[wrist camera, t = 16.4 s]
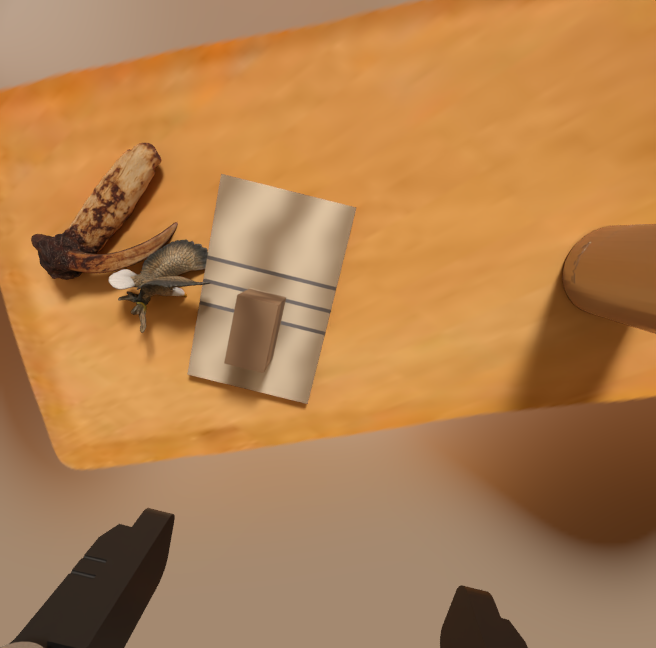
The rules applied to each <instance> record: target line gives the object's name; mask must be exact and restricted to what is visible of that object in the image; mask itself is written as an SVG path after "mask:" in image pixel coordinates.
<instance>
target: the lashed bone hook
mask: <svg viewBox="0 0 656 648" xmlns="http://www.w3.org/2000/svg"><path fill="white" fill-rule="evenodd" d="M160 162H161V157H160V156H159V154H158V153H157V151H156V149H155V147H154V146H153V145H151V144H150V143H139V144H137V145H136V146H134V147H133V149H132V150H127V151H126V152H125V153H124V154H123V155H122V156H121V157H120V158H119V159H118V160H117V161H116V162H115V164H114V165H113V166H112V168H111V169H110V170H109V171H108V172H107V174H106V175H105V176H104V177H103V178H102V179H101V181H100V183H99V184H98V185H97V186H96V188H95V189H94V192H93V193H92V195H90V197H89V198H88V199H87V200H86V202H85V203H84V205H83V207H82V209H81V210H80V211H79V213H78V215H77V216H76V218H75V220H74V221H73V222H72V223H71V226H70V227H69V228H68V229H67V230H65V232H64V233H63V234H57V235H56V236H55V237H51V236H46V235H43V234H35V235H33V236H32V238H31V241H32V244H33V246H34V247H35V248H36V249H37V250H38V255H39V258H40V264H41V266H42V267H43V268H44V269H45V270H46V271H47V272H48V274H49V275H50V276H51V277H52V278H53V279H56V278H61V279H65V280H67V279H73V278H75V277H78V276H79V275H80V274H81V273H82V272H86V273H106V272H111V271H116V270H120V269H123V268H126V267H129V266H131V265H134V264H136V263H138V262H140V261H142V260H144V259H146V258H147V257H148V256H150V254H152V253H155V252H156V251H157V250H159V249H160V248H161V247H163V246H164V245H165V243H166V242H167V241H168V240H169V239H170V238H171V236H172V235H173V233H174V232H175V230H176V228H177V225H178V223H177V222H176V223H174V224H172V225H171V226H170V227H168V228H167V229H166V230H164V231H163V232H162V233H160V234H158V235H157V236H155V237H153V238H152V239H150V240H148V241H146V242H144V243H142V244H139V245H137V246H134V247H131V248H129V249H126V250H123V251H119V252H115V253H110V254H97V253H98V252H99V251H100V250H101V249H102V248H103V247H104V245H105V244H106V242H107V240H108V239H109V238H111V236H113V235H114V233H115V232H116V230H117V229H119V228H120V227H121V226H122V225H123V223H124V222H125V220H127V219H128V217H129V216H130V215H131V213H132V212H133V210H134V207H135V204H136V203H137V201H138V200H139V198H140V197H141V195H142V194H143V193H144V191H145V190H146V189H147V186H148V184H149V182H150V181H151V179H152V178H153V176H154V175H155V170H154V169H155V168H156V166H157V165H159V164H160Z"/></svg>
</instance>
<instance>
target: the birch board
mask: <svg viewBox="0 0 656 648" xmlns="http://www.w3.org/2000/svg"><path fill="white" fill-rule="evenodd" d="M355 211H356V207H352V206H348V205H344V204H340V203H336V202H332V201H328V200H324V199H320V198H316V197H312V196H308V195H304V194H300V193H296V192H292V191H288V190H284V189H280V188H276V187H272V186H268V185H264V184H260V183H256V182H252V181H248V180H244V179H240V178H236V177H232V176H228V175H224V174H221V179H220V185H219V191H218V196H217V202H216V208H215V214H214V220H213V226H212V232H211V238H210V244H209V250H208V256H207V262H206V268H205V274H204V280H203V282H211V283H210V284H206V285H203V286H202V291H201V297H200V303H199V309H198V315H197V321H196V327H195V333H194V339H193V345H192V351H191V357H190V363H189V369H188V375H192V376H196V377H200V378H204V379H208V380H212V381H216V382H220V383H224V384H229V385H233V386H237V387H241V388H245V389H249V390H253V391H257V392H261V393H265V394H269V395H273V396H277V397H281V398H285V399H289V400H294V401H298V402H302V403H306V404H308V400H309V396H310V392H311V388H312V384H313V380H314V376H315V372H316V368H317V364H318V360H319V356H320V352H321V348H322V344H323V340H324V336H325V332H326V328H327V324H328V320H329V316H330V312H331V308H332V304H333V300H334V296H335V291H336V287H337V283H338V279H339V275H340V271H341V267H342V263H343V259H344V255H345V251H346V247H347V243H348V239H349V235H350V231H351V227H352V223H353V219H354V215H355ZM249 288H252V289H256V290H260V291H264V292H268V293H272V294H276V295H280V296H284V297H286V302H285V306H284V311H283V315H282V320H281V324H280V329H279V333H278V338H277V342H276V347H275V351H274V356H273V359H272V360H271V362H270V364H269V365H268V367H267V369H266V370H265V372H264V373H260V372H256V371H252V370H248V369H244V368H240V367H236V366H232V365H228V364H224V361H225V356H226V351H227V346H228V340H229V335H230V330H231V325H232V320H233V314H234V309H235V304H236V299H237V295H238V294H240V293H242V292H244V291H246V290H248V289H249Z"/></svg>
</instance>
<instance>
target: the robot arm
mask: <svg viewBox="0 0 656 648" xmlns="http://www.w3.org/2000/svg"><path fill="white" fill-rule="evenodd" d="M563 284H564V289H565V291H566V293H567V296H568V297H569V299H570V300H571V301H572V303H573V304H575V305H576V306H577V307H578V308H579V309H582V310H584V311H586V312H588V313H591V314H594V315H597V316H601V317H604V318H607V319H610V320H613V321H616V322H619V323H623V324H626V325H629V326H632V327H635V328H639V329H642V330H645V331H648V332H651V333H655V334H656V224H644V225H619V226H608V227H603V228H600V229H597V230H595V231H592V232H591V233H589V234H587V235H586V236H584V237H583V238H582V239H581V240H580V241H579V242H578V243H576V245H575V246H574V247H573V249H572V250H571V251H570V253H569V255H568V257H567V259H566V261H565V265H564V269H563ZM173 525H174V514H170V513H166V512H162V511H158V510H154V509H150V508H147V509H145V510H144V511H143V513H142V514H141V515H140V517H139V518H138V519H137V521H136V522H135V523H134V525H133V526H132V527H129V526H125V525H121V524H119V525H117V526H116V527H114V528H112V529H111V530H109V531H108V532H106V533H105V534H103V535H102V536H100V537H99V538H98V539H97V540H96V542H95V543H94V544H93V545H92V546H91V548H90V549H89V550H88V551H87V553H86V554H85V556H84V558H82V559H81V560H80V561H79V562H78V563H77V565H76V566H75V567H74V568H73V570H72V572H71V573H70V574H68V575H67V577H66V578H65V579H64V581H63V582H62V583H61V584H60V585H59V586H58V588H57V589H56V590H55V591H54V593H53V594H52V595H51V596H50V597H49V599H48V600H47V601H46V602H45V603H44V605H43V606H42V607H41V608H40V609H39V611H38V612H37V613H36V614H35V616H34V617H33V618H32V619H31V620H30V622H29V623H28V624H27V625H26V627H25V628H24V629H23V630H22V631H21V632H20V634H19V635H18V636H17V637H16V638H15V639H14V640H13V641H12V642H11V643H10V644H8V645H5V646H2V647H0V648H124V647H125V645H126V643H127V641H128V640H129V638H130V636H131V634H132V632H133V630H134V629H135V627H136V625H137V623H138V621H139V619H140V618H141V615H142V614H143V612H144V610H145V608H146V606H147V605H148V603H149V601H150V599H151V597H152V595H153V594H154V592H155V590H156V588H157V586H158V584H159V582H160V579H161V577H162V575H163V572H164V569H165V566H166V562H167V558H168V553H169V547H170V542H171V535H172V530H173ZM440 648H528V647H527V645H526V643H525V641H524V640H523V638H522V637H521V636H520V634H519V633H518V632H517V630H516V629H515V628H514V626H513V625H512V624H511V622H510V621H509V620H507V619H503V618H501V617H500V615H499V612H498V609H497V607H496V604H495V602H494V599H493V597H492V596H491V594H490V593H489V592H486V591H482V590H478V589H474V588H470V587H465V586H459V587H458V588H457V590H456V593H455V595H454V598H453V601H452V603H451V606H450V608H449V611H448V613H447V616H446V618H445V621H444V624H443V626H442V630H441V636H440Z"/></svg>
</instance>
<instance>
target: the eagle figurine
mask: <svg viewBox="0 0 656 648" xmlns="http://www.w3.org/2000/svg"><path fill="white" fill-rule="evenodd" d="M207 251H208V250H207V249H206V248H203V247H202V245H201V244H195V245H194V242H193V241H191V242H188V240H180V241H178V240H177V241H175V242H171V243H170V244H167V245H165V246H164V247H163V248H160V249H159V250H157V251H156V252H155V253H152V254H150V256H148V257H147V259H146V260H145V261H144V263H143V267H142V271H141V272H140V273H141V274H139V275H137V274H135V273H134V272H132V271H130V270H128V269H124V270H120V271H118V272H116V273H113V274H112V275H111V276H110V277H109V283H110V284H111V285H112V286H113V287H114V288H116V289H127V288H131V287H138V288H137V290H139V289H140V288H141V290H140V293H139V295H138V294H134V293H132V292H127V294H128V295H127V296H122V297H119V299H118V300H129V301H132V302H136V304H137V305H136V306H135V307H134V308H133V310H132V311H131V313H132V314H133V315H137V314H139V318H140V322H141V326H140V331H141V333H143V332H144V331H145V328H146V317H145V315H146V310H147V306H146V305H147V304H148V302H149V301H150V299H151V296H153V295H161V296H184V297H187V294H186V293H185V292H184V291H183V290H182V289H181V288H178V287H182V286H191V285H206V284H210V283H211V282H194V281H192V280H190V279H187V278H184V277H178V275H180V274H183V273H185V272H188V271H193V270H201V269H205V268H206V262H207V256H208V252H207Z"/></svg>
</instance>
